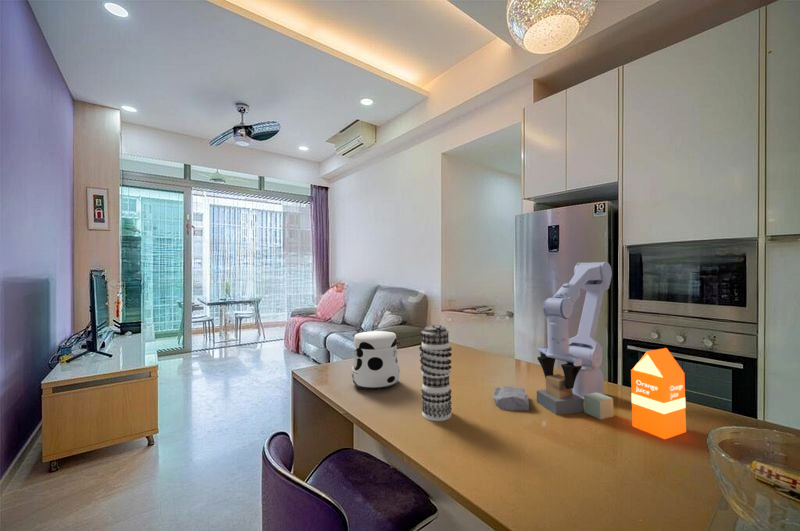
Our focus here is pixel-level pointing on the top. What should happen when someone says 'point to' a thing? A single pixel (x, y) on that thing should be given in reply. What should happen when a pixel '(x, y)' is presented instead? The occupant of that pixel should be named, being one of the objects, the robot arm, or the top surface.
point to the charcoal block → (560, 403)
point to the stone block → (511, 398)
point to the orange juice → (658, 395)
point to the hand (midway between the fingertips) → (559, 384)
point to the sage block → (598, 405)
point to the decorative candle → (435, 373)
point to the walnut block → (557, 386)
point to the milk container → (375, 360)
